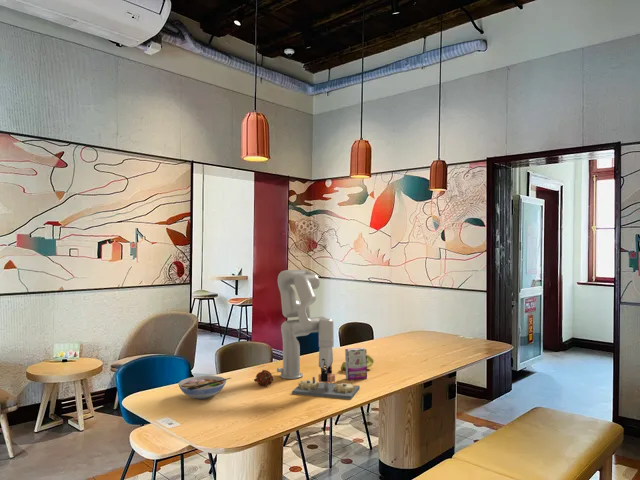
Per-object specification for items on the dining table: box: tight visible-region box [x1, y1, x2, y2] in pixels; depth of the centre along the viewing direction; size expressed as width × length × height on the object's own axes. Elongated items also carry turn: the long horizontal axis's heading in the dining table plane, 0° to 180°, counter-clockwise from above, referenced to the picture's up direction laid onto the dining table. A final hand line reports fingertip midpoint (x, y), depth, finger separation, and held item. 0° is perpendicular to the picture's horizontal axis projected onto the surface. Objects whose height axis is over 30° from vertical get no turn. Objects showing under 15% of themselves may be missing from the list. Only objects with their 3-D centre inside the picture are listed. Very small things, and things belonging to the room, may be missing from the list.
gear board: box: [291, 376, 361, 400], centre depth 232 cm, size 30×18×6 cm, turn 72°
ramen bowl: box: [178, 375, 231, 400], centre depth 224 cm, size 25×23×8 cm
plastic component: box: [340, 354, 375, 371], centre depth 274 cm, size 20×7×10 cm
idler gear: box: [318, 373, 336, 384], centre depth 232 cm, size 8×7×3 cm
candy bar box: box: [344, 347, 368, 381], centre depth 255 cm, size 11×5×16 cm, turn 105°
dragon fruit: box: [253, 369, 274, 387], centre depth 243 cm, size 8×8×12 cm
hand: (326, 379), depth 232 cm, fingers closed on idler gear, 6 cm apart
